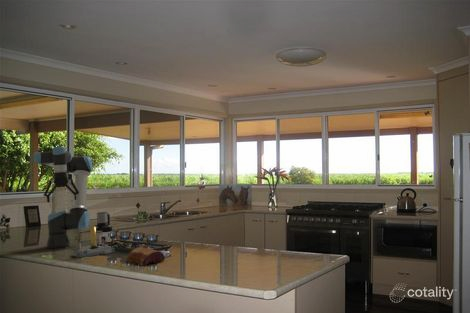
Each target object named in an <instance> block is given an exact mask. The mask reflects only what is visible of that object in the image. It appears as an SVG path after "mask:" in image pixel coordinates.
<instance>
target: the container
mask: <svg viewBox="0 0 470 313" xmlns="http://www.w3.org/2000/svg"><path fill="white" fill-rule="evenodd" d="M110 232H112V233H113V226H112V225H108V226H104V227H102V230H101V233H102V234H100V235H98V236H99V245H100V244H102V243H106V242H111V241H112V239H111V238H110V236H108V233H110ZM116 238H117V237H116ZM116 238H115V239H114V240H116ZM116 241H117V240H116Z"/></svg>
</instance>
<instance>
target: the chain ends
mask: <svg viewBox="0 0 470 313" xmlns="http://www.w3.org/2000/svg"><path fill="white" fill-rule="evenodd" d="M115 253H116V248H115V247H114V246H112V247H111V246H108V245H102V246H100V245H97V248H95V249H91V246H87V247H83V250H82V251H77V250H74V251H73V252H72V256H73V257H74V258H76V259H79V258H80V259H81V258H85V257H86V256H87V257H92V256H101V255H106V254H107V255H108V254H115ZM100 254H101V255H100Z"/></svg>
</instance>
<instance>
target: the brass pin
mask: <svg viewBox="0 0 470 313" xmlns="http://www.w3.org/2000/svg"><path fill="white" fill-rule="evenodd" d="M96 228H97V227H93V226H90V227H89V234H90V237H89V238H90V247H91V249H95V248H97V246H98V245H97V244H98V243H97V229H96Z"/></svg>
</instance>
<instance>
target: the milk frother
mask: <svg viewBox="0 0 470 313" xmlns="http://www.w3.org/2000/svg"><path fill="white" fill-rule="evenodd" d="M96 221H97V222H96V223H97V224H95V225H93V226H92V227H96V231H102V227H104V226H111V217H110V213H108V211H99V212H98V211H97V212H96Z"/></svg>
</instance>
